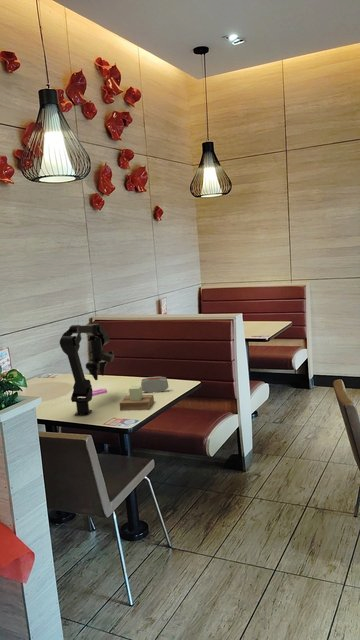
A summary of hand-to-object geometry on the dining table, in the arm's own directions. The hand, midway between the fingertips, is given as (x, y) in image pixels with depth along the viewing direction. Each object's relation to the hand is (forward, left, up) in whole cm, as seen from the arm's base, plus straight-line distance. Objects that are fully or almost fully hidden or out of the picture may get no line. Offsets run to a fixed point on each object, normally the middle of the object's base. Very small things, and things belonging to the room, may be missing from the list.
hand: (99, 377), depth 263 cm
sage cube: (-10, -22, -8) cm, 26 cm away
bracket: (+12, +8, -12) cm, 19 cm away
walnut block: (-10, -22, -13) cm, 27 cm away
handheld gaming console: (+13, -25, -12) cm, 31 cm away
